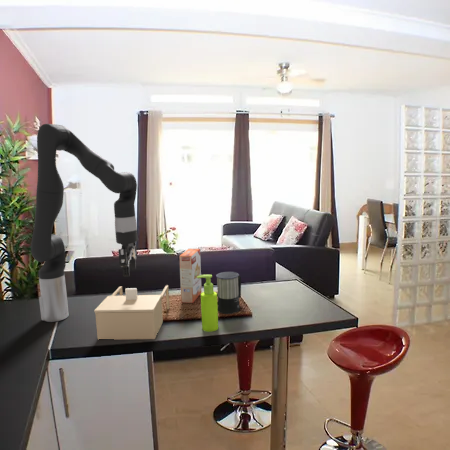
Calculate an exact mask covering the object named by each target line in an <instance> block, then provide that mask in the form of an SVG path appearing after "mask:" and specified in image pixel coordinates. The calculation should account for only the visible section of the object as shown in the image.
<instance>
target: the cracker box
mask: <svg viewBox="0 0 450 450" xmlns="http://www.w3.org/2000/svg"><path fill="white" fill-rule="evenodd" d="M201 259H202V258H201V249H200V248H188V249H186V250H185V251H184V252H183V253H181V254H179V279H180V280H179V281H180V302H181V303H184V304H194V302H196V301H197V298H199V296H201V293H202V278H199V279H198V278H197V276H199V275H202V272H201V270H202V269H201V268H202V267H201V266H202V265H201V262H202V261H201Z"/></svg>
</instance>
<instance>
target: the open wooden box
mask: <svg viewBox="0 0 450 450" xmlns="http://www.w3.org/2000/svg"><path fill="white" fill-rule="evenodd" d="M169 293H170V292H169V285H168V284H166V285H165V286H164V288H163V290H162V292H161V293H160V295H162V298H161V299H160V301H159V303H158V305H157V306H156V308H155V310H154V312H104V313H95V324H96V325H95V326H96V334H97V335H96V336H97V340H99V339H114V340H155V339H156V338H157V336H156V335H158V334H157V333H159V331H160V329H161V328H162V324H163V322H164V321H163V306H162V304H163V303H162V302H163V301H162V300H163V298H164V296H165V299H166V301H165V302H166V310H170V294H169ZM118 294H119V296H122V295H123V294H124V293H123V286H118V287H117V289H116V290H115V291H114V292H113V293H112V294H111V295H110V296H118ZM99 341H100V340H99Z"/></svg>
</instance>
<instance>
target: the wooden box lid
mask: <svg viewBox="0 0 450 450" xmlns="http://www.w3.org/2000/svg"><path fill="white" fill-rule="evenodd" d="M124 291H125V295H122V296H120V295H116V296H111V295H107V296H106V297H105V298H104V299H103V300H102V301H101V303H100V304H99V305H97V307H96V308H95V309H94V313H104V312H154V310H155V308H156V306H157V305H158V303H159V301H160V299H161V298H162V295H161V294H138V289H137V287H130V288H129V287H127V288H126V287H125V290H124ZM162 299H163V298H162Z"/></svg>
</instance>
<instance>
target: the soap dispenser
mask: <svg viewBox="0 0 450 450" xmlns="http://www.w3.org/2000/svg"><path fill="white" fill-rule="evenodd" d="M197 278H198V279H199V278H201V279H205V283H204V284H203V291H201V294H200V307H201V309H200V311H201V328H202V329H201V330H202V331H204V332H208V333H210V332H212V333H213V332H216V331H217V330H218V329H219V312H218V304H217V302H218V297H217V293H218V292H216V291H215V290H214V283H212V282H211V281H212V279H211V278H213V275H212V274H201V275H199V276H197Z"/></svg>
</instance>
